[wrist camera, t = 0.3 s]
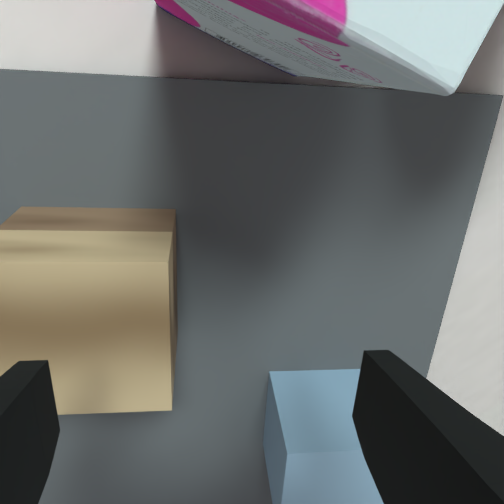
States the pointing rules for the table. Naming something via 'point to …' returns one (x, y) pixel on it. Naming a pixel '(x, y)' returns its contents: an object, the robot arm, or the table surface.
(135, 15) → the table surface
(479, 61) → the table surface
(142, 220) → the slab lower
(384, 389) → the robot arm
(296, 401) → the cube
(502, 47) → the table surface
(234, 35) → the supplement box
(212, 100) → the mat
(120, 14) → the table surface
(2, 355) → the slab upper
